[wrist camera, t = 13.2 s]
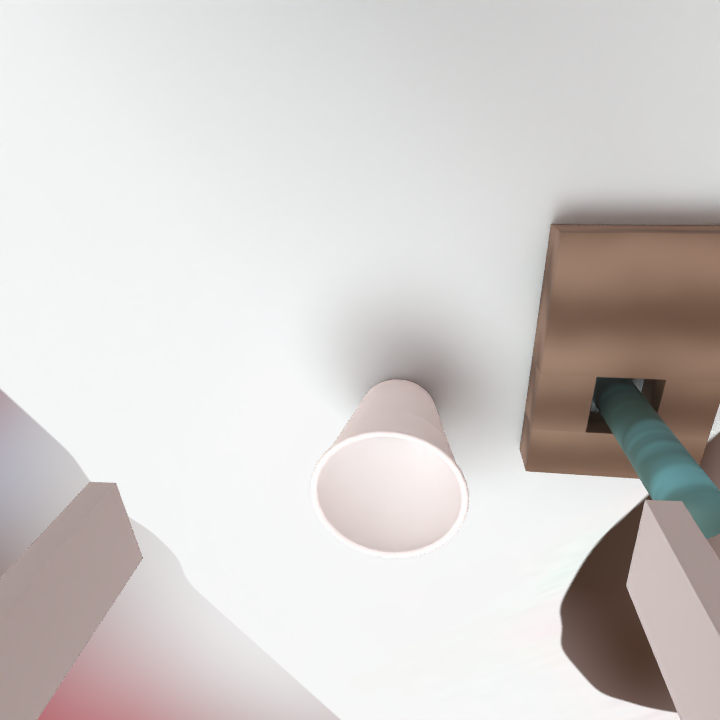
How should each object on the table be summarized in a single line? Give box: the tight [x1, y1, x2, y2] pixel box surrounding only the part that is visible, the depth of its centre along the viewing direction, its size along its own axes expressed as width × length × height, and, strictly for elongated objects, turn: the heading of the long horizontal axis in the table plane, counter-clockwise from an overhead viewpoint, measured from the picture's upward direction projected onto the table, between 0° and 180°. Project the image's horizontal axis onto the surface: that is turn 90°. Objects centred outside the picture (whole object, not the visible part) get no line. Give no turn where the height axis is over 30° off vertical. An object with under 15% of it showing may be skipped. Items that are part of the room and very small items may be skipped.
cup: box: [310, 379, 469, 558], centre depth 36 cm, size 10×10×11 cm
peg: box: [592, 377, 720, 539], centre depth 32 cm, size 3×3×14 cm
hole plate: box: [520, 225, 720, 479], centre depth 35 cm, size 18×12×3 cm, turn 1°
